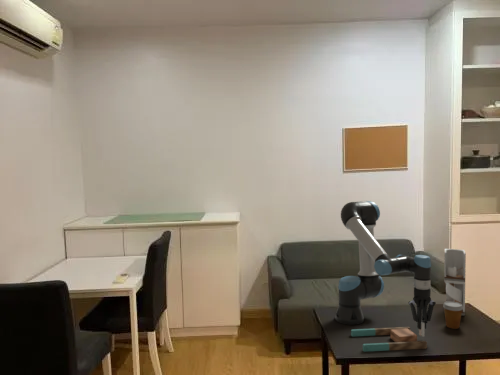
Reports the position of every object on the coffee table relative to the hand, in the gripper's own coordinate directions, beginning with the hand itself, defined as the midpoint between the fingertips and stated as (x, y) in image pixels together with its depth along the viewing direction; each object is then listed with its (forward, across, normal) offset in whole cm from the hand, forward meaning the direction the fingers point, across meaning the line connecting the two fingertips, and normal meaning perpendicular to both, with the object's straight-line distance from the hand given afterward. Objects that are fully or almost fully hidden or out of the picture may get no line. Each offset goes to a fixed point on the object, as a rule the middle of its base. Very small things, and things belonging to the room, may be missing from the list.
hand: (421, 335), depth 215 cm
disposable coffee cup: (+3, +24, +14) cm, 28 cm away
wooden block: (+3, -9, 0) cm, 10 cm away
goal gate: (+2, -26, 0) cm, 26 cm away
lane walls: (+2, -11, 0) cm, 11 cm away
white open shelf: (+3, +37, +36) cm, 52 cm away
